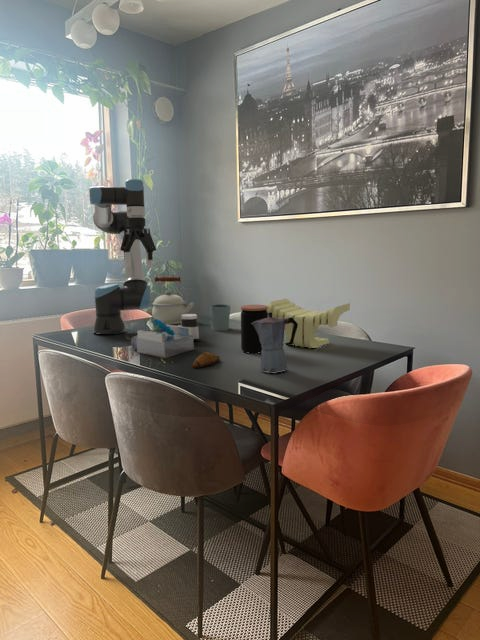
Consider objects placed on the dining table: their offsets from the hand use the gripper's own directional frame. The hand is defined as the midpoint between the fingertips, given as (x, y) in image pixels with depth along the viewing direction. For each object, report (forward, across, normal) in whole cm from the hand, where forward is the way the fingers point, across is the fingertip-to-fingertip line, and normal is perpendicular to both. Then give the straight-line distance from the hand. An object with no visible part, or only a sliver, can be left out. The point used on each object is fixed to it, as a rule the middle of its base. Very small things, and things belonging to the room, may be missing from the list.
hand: (138, 267), depth 203 cm
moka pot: (+33, +74, -6) cm, 81 cm away
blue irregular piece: (+27, +22, -8) cm, 35 cm away
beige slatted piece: (+33, +64, +34) cm, 80 cm away
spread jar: (+33, +15, +12) cm, 38 cm away
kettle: (+33, -24, +42) cm, 59 cm away
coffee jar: (+33, +52, +13) cm, 63 cm away
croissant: (+33, +50, -13) cm, 61 cm away
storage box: (+34, +19, -7) cm, 39 cm away
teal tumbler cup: (+33, +11, +41) cm, 54 cm away
